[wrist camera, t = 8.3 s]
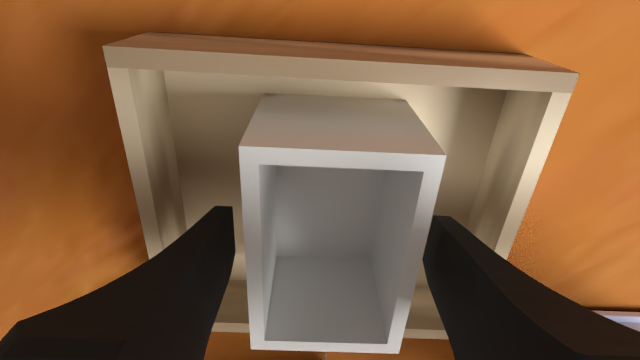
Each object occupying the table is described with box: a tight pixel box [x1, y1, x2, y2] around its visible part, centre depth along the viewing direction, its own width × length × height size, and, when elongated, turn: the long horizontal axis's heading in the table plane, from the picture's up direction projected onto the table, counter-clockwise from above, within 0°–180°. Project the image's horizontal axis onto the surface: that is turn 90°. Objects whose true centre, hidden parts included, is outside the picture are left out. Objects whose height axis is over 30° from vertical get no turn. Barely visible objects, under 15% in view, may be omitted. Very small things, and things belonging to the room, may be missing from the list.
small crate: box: [238, 93, 447, 354], centre depth 14 cm, size 8×5×5 cm
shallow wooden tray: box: [102, 32, 580, 339], centre depth 15 cm, size 12×14×3 cm
